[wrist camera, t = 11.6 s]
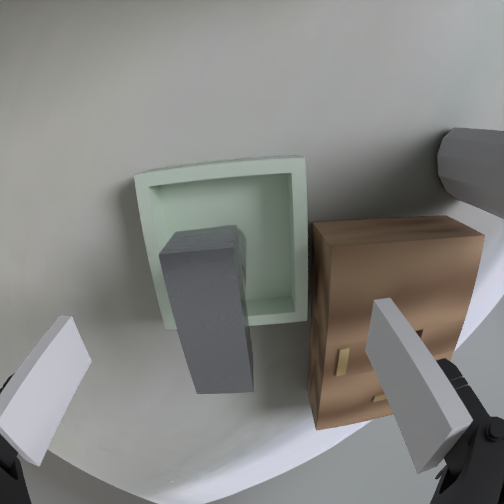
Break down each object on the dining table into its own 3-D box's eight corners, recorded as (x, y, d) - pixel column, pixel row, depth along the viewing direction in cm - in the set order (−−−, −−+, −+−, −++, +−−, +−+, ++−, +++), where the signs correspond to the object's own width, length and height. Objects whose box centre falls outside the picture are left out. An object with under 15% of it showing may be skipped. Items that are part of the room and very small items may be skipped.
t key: (216, 288, 25) (197, 393, 14) (202, 196, 22) (158, 254, 11) (251, 285, 25) (253, 391, 14) (241, 192, 22) (233, 247, 11)
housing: (312, 221, 24) (332, 248, 18) (446, 215, 24) (486, 235, 18) (307, 390, 31) (316, 431, 25) (412, 370, 31) (432, 403, 25)
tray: (147, 170, 22) (133, 175, 19) (297, 155, 22) (305, 157, 19) (172, 310, 27) (165, 329, 24) (301, 301, 27) (307, 320, 24)
